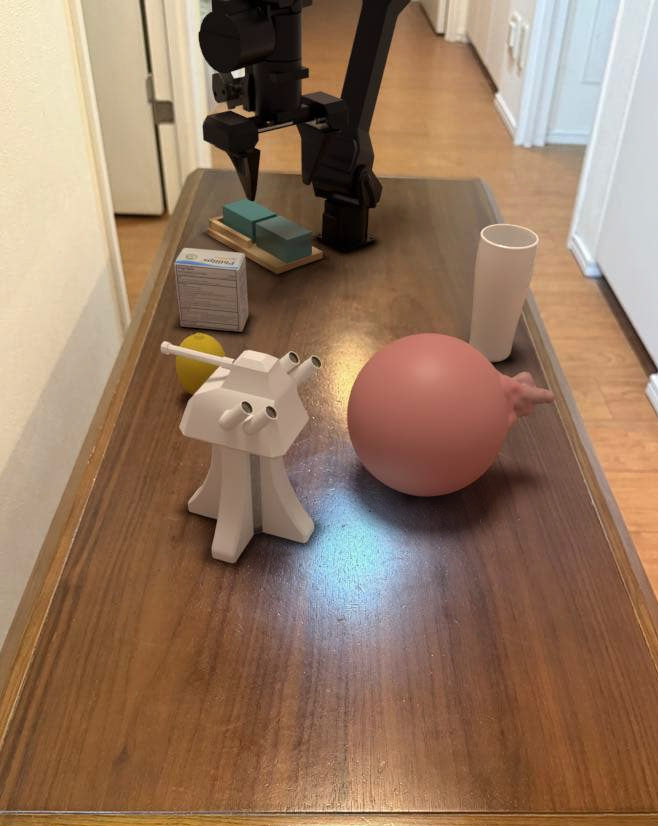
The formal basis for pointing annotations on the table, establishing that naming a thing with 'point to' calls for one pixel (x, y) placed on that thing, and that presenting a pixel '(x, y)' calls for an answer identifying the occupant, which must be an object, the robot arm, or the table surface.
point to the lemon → (197, 362)
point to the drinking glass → (500, 287)
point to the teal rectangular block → (245, 217)
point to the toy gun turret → (248, 446)
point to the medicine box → (212, 289)
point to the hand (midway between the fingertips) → (279, 192)
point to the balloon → (434, 413)
